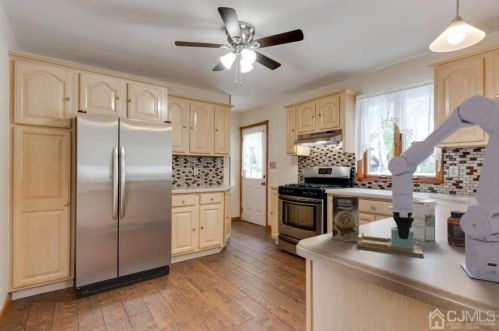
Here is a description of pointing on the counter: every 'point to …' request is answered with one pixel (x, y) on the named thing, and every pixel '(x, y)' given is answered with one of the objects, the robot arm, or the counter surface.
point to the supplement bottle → (455, 229)
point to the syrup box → (423, 220)
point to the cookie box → (345, 217)
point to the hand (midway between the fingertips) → (402, 235)
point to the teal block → (401, 242)
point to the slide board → (386, 245)
